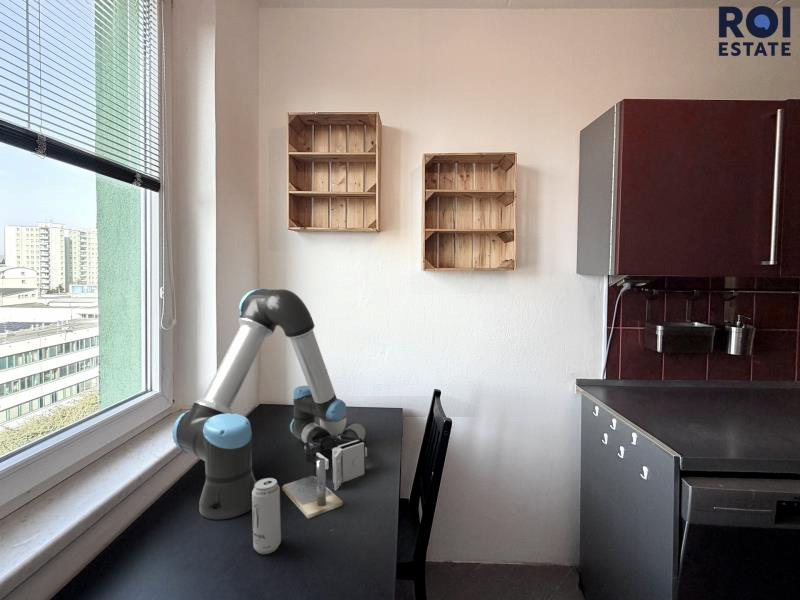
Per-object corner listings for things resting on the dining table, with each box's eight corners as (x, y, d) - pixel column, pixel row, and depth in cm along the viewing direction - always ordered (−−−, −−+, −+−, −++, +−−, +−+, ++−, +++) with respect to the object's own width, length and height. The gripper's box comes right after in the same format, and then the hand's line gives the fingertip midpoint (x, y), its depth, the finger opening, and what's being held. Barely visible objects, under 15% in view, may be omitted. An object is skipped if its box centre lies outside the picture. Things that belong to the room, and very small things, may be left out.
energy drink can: (248, 546, 93) (247, 483, 92) (273, 535, 97) (271, 474, 96) (260, 559, 89) (259, 493, 88) (286, 546, 93) (284, 483, 92)
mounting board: (308, 518, 104) (308, 514, 104) (282, 489, 118) (282, 486, 118) (342, 505, 110) (342, 501, 110) (314, 479, 124) (314, 476, 124)
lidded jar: (317, 430, 164) (317, 407, 163) (343, 426, 168) (343, 404, 167) (322, 440, 154) (321, 416, 153) (349, 436, 158) (349, 412, 157)
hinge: (336, 491, 117) (335, 457, 117) (323, 485, 120) (322, 452, 120) (367, 472, 128) (367, 441, 128) (355, 468, 131) (354, 437, 131)
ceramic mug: (366, 441, 152) (366, 421, 152) (359, 450, 144) (358, 429, 144) (340, 439, 155) (339, 419, 154) (331, 448, 147) (331, 427, 147)
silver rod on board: (307, 511, 105) (306, 466, 104) (283, 485, 118) (282, 445, 118) (338, 500, 110) (338, 457, 110) (312, 476, 124) (311, 437, 123)
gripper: (347, 438, 150) (380, 459, 133) (282, 457, 134) (309, 482, 118) (347, 418, 149) (380, 436, 132) (281, 435, 134) (309, 457, 117)
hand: (347, 458), depth 125 cm, fingers open, 13 cm apart
